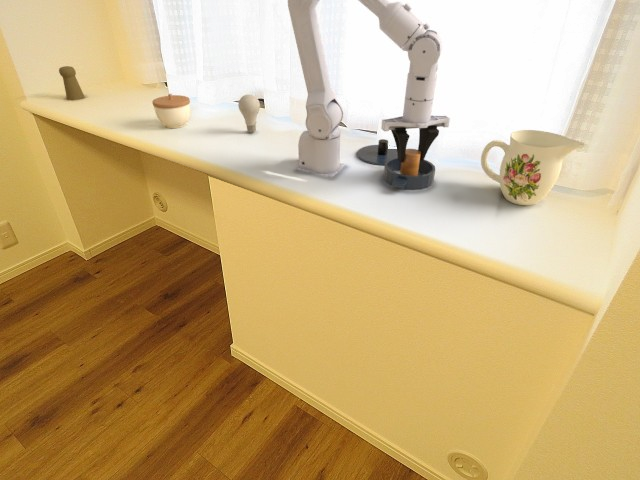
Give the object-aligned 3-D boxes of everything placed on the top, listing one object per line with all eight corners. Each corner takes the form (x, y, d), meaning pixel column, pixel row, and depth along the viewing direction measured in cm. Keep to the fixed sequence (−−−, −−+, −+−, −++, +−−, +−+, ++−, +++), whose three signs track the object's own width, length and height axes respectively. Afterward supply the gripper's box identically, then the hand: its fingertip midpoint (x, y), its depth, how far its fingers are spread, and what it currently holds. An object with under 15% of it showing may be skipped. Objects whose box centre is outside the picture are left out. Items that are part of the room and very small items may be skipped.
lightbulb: (248, 137, 117) (244, 98, 111) (237, 132, 121) (233, 94, 115) (266, 133, 120) (263, 95, 114) (255, 127, 124) (251, 90, 118)
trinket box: (157, 132, 121) (150, 100, 115) (157, 121, 129) (151, 91, 124) (194, 128, 123) (189, 97, 118) (192, 118, 132) (187, 88, 127)
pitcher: (483, 176, 96) (498, 118, 88) (567, 199, 86) (591, 137, 78) (465, 193, 88) (479, 132, 81) (554, 220, 79) (579, 153, 71)
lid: (349, 161, 103) (350, 144, 100) (367, 145, 112) (368, 129, 110) (398, 171, 98) (400, 153, 95) (412, 153, 108) (415, 137, 105)
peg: (397, 180, 93) (400, 153, 89) (402, 174, 96) (405, 147, 92) (414, 184, 91) (418, 156, 87) (418, 177, 94) (423, 150, 90)
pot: (372, 190, 90) (373, 175, 87) (395, 163, 102) (397, 149, 100) (422, 201, 85) (424, 185, 83) (440, 172, 98) (442, 157, 96)
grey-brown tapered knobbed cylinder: (88, 97, 153) (78, 66, 147) (72, 100, 149) (62, 69, 143) (78, 95, 156) (69, 64, 150) (63, 98, 151) (52, 67, 145)
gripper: (392, 104, 79) (385, 169, 86) (461, 101, 81) (448, 164, 89) (380, 95, 84) (375, 157, 92) (445, 92, 87) (435, 152, 94)
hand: (410, 159), depth 91 cm, fingers open, 4 cm apart
